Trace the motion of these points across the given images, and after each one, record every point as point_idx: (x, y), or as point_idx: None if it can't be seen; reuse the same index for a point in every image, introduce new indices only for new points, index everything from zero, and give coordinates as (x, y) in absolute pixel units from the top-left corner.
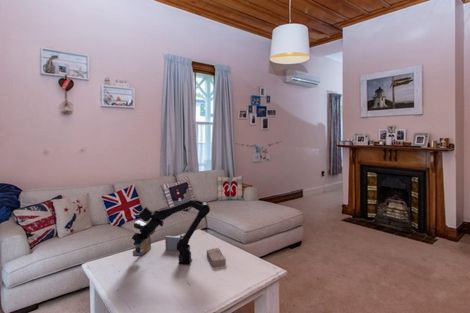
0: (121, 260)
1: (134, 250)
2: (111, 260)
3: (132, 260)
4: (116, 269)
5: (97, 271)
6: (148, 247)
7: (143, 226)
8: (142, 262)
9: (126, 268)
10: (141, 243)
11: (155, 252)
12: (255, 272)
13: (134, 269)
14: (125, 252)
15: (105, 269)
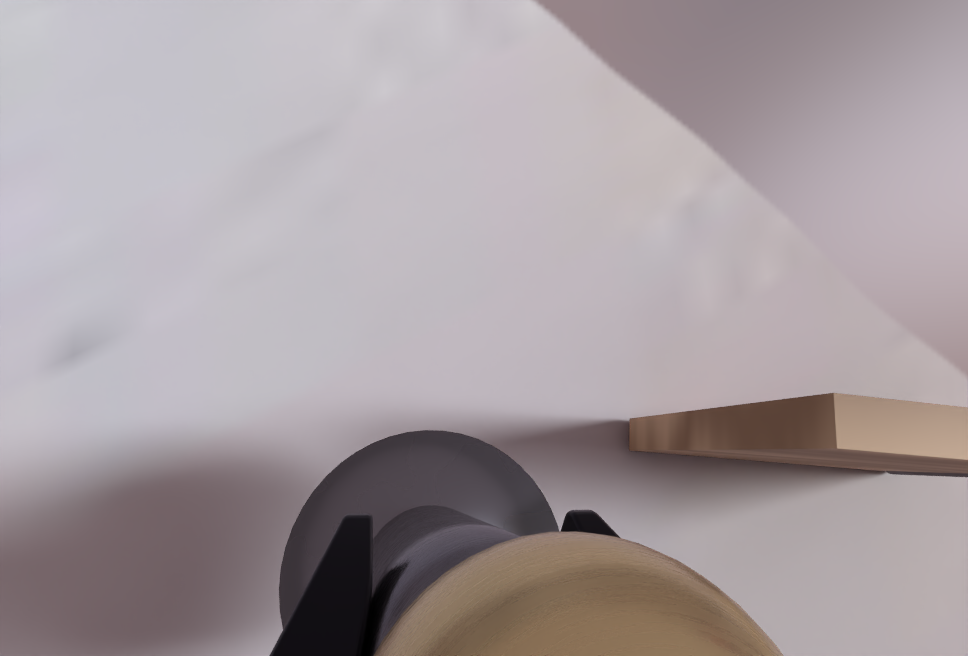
0: (453, 207)
1: (454, 453)
2: (435, 66)
3: (475, 379)
4: (136, 272)
5: (59, 17)
6: (874, 468)
7: None
8: None
9: (178, 423)
10: (805, 451)
11: (799, 624)
12: None
13: (142, 593)
14: (699, 151)
15: (132, 103)
